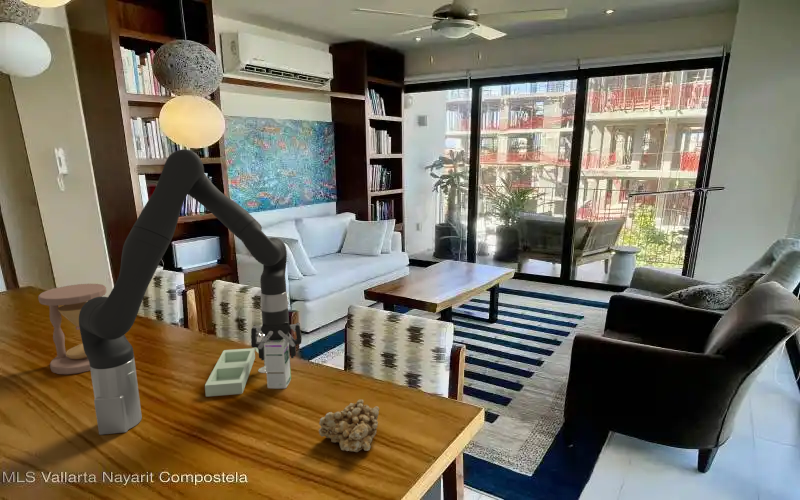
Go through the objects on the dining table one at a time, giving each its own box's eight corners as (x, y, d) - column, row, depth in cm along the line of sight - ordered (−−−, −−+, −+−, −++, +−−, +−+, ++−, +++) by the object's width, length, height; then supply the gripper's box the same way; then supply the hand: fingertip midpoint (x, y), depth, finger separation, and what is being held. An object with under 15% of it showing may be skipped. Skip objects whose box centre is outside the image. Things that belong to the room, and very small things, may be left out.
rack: (242, 393, 125) (241, 382, 124) (205, 396, 123) (204, 385, 123) (255, 357, 148) (254, 348, 147) (224, 359, 146) (223, 350, 146)
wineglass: (277, 366, 142) (275, 331, 140) (270, 374, 136) (268, 338, 134) (260, 365, 143) (258, 331, 140) (253, 373, 137) (250, 338, 135)
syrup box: (286, 388, 128) (283, 343, 125) (266, 388, 128) (263, 342, 125) (291, 379, 133) (289, 335, 130) (272, 379, 133) (269, 335, 130)
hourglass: (127, 352, 152) (118, 284, 147) (87, 376, 135) (75, 299, 130) (81, 350, 154) (70, 282, 149) (36, 373, 137) (22, 297, 132)
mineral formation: (313, 440, 104) (357, 409, 115) (352, 472, 96) (395, 436, 107) (314, 413, 101) (359, 384, 112) (354, 444, 93) (398, 410, 104)
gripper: (247, 312, 121) (251, 365, 124) (299, 309, 123) (301, 361, 127) (251, 303, 128) (255, 354, 132) (300, 301, 131) (302, 351, 134)
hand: (278, 358), depth 129 cm, fingers open, 8 cm apart
